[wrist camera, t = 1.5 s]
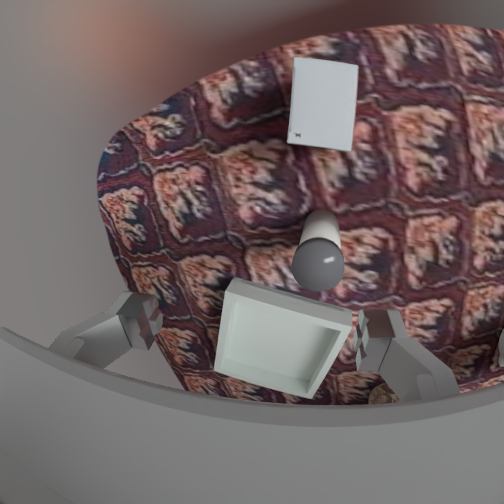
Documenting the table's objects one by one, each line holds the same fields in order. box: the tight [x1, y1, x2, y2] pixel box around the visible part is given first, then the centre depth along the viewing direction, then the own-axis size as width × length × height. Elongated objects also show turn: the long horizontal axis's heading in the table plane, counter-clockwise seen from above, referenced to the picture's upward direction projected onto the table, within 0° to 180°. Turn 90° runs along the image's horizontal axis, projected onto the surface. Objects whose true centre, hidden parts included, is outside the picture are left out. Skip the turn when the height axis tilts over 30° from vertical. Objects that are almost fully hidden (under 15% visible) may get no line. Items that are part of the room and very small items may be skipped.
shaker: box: [292, 209, 344, 291], centre depth 30 cm, size 5×5×12 cm
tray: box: [214, 277, 352, 399], centre depth 42 cm, size 18×18×4 cm
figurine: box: [369, 383, 401, 404], centre depth 39 cm, size 7×7×12 cm
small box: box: [287, 57, 359, 152], centre depth 24 cm, size 8×6×10 cm
